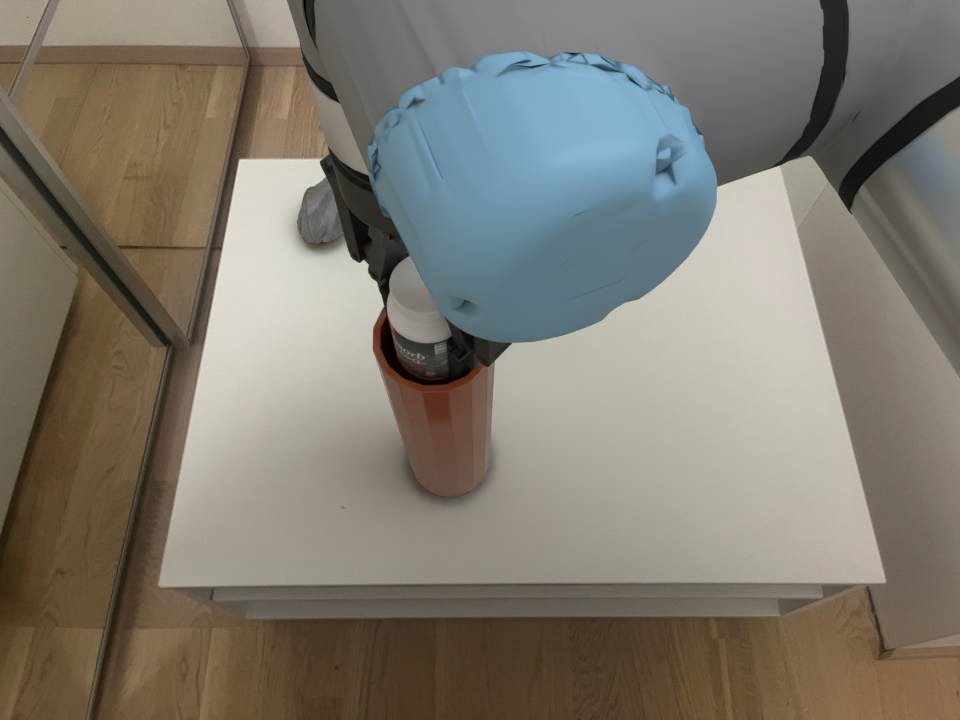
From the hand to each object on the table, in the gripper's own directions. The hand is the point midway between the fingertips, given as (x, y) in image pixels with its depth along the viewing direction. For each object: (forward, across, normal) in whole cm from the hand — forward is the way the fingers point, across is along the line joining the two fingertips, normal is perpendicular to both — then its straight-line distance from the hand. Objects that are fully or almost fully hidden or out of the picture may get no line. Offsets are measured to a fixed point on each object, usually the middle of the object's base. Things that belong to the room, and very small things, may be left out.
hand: (435, 346), depth 52 cm
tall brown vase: (+30, 0, 0) cm, 30 cm away
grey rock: (+30, +36, -14) cm, 49 cm away
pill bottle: (0, 0, 0) cm, 0 cm away
